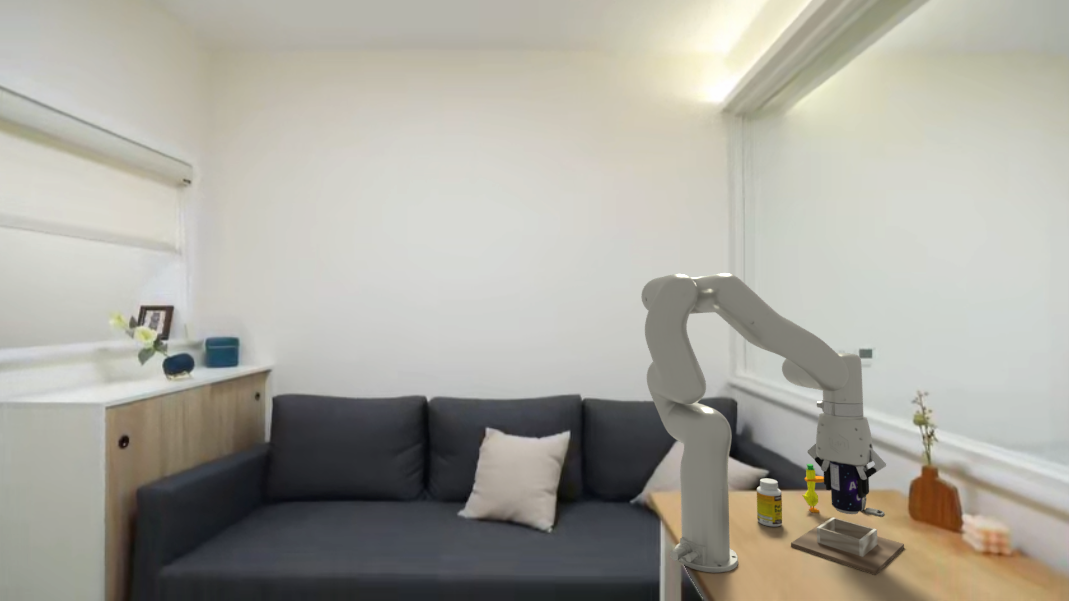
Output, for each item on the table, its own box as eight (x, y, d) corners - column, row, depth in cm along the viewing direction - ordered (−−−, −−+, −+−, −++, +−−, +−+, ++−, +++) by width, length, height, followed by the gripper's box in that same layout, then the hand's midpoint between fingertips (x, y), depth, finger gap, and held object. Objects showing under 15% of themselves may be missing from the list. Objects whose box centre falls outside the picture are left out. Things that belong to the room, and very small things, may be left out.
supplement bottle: (777, 529, 119) (776, 486, 119) (753, 523, 123) (752, 480, 123) (786, 523, 122) (784, 480, 123) (762, 516, 126) (761, 475, 127)
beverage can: (852, 517, 106) (850, 460, 106) (826, 508, 111) (824, 454, 111) (868, 512, 109) (865, 456, 109) (841, 504, 114) (839, 450, 114)
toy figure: (822, 508, 132) (821, 461, 132) (831, 513, 128) (830, 465, 128) (798, 509, 131) (796, 462, 132) (806, 514, 128) (805, 466, 128)
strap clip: (885, 515, 128) (884, 498, 128) (881, 518, 125) (881, 501, 126) (847, 505, 134) (846, 489, 134) (843, 508, 132) (843, 492, 132)
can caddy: (875, 575, 98) (874, 554, 98) (790, 546, 110) (790, 528, 110) (904, 547, 109) (903, 528, 109) (824, 524, 121) (824, 507, 121)
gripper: (795, 406, 115) (797, 486, 114) (882, 417, 101) (886, 508, 101) (809, 402, 119) (811, 479, 119) (894, 412, 106) (898, 499, 106)
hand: (846, 491), depth 110 cm, fingers closed on beverage can, 5 cm apart
